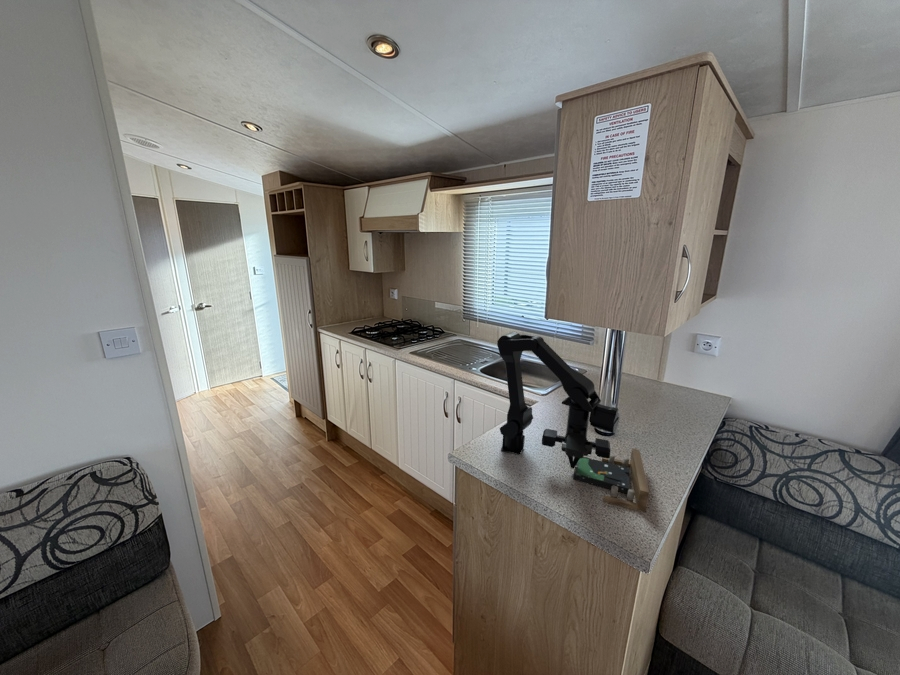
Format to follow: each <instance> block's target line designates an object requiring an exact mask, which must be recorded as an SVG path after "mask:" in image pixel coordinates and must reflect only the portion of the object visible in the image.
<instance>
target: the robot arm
mask: <svg viewBox="0 0 900 675" xmlns="http://www.w3.org/2000/svg"><path fill="white" fill-rule="evenodd" d="M496 343H497V345H496V346H497V350H498V352H499V355H500V358H502V360H503V362H504V367H505V374H506V381H507V383H506V384H507V392H508V398H509V407H508V411H507V414H506V423H505V424H503V425H502V426H500V427H499V431H500V435H502V444H501V448H500V451H502V452H506V453H509V454H510V453H512V454H516V455H521V453H522V451H523V450H524V448H525V439H526V438H525V435H524V430H525V429H526V428H528V427H529V426H530V425H531V424H532V421H533V419H534V415H533V407H531V406H529V407H528V405H527V404H526V401H525V393H524V384H523V375H522V374H523V373H522V366H521V359H522V355H523V352H525V351H527V352H532V353H533V354H534V355H535V356H536V357H537V359H539V361H541V362H542V363H543V364H544V365H545V366H546V367H547V368H548V370H550V371H551V373H552V374H553V375H555V378H557V379H558V380H559V381H560V383H561V386H562V389H563V390H564V392H565V393H566V395H567V396H568V397H566V398H565V399H563V400H562V401H561V404H562V405H565V406H567V407H568V413H567V422H566V431H565V436H562V435H558V430H555V429H550V428H545V429H544V430H543V432H542V437H541V445H542V446H546V447H551V448H554V447H555V446H556V443H560V444H561V450H560V451H562V452H564V453H565V455H566V456H567V458H568V462H569V466H570V469H574V470H575V466H576V464H577V462H578V461H579V459H580V458H583V457H587V456H588V455H592V452H593V450H594V455H595V456H596V457H599V458H602V457H603V458H607V459H608V458H610V454H611V450H612V449H611V442H610V441H609V440H607V439H603V438H597V437H595V440H594V441H589V440H588V438H587V437H588V427H589V424H590V426H592V427H593V428H597V429H599V430H601V431H605V432H609V433H612V434H615V433H616V432H617V430H618V428H619V427H618V426H619V423H620V416H619V415H620V414H619V408H618V407H614V406H608V405H604V404H601V402H602V400H601V398H600V397H599V394H598V393H597V392H596V389H595V384H594V382H593V381H592V380H591V379H590V378H588V377H587V376H586V375H585V374H583V373H582V372H579V371H576V370H575V369H573V368H572V367H571V366H570V365H568V364H567V362H566V361H564V359H563V358H562V357H560V355H558V353H556V351H554V349H553V348H552V347H551V346H550V345H549V344H548V343H547V342H546V341H545V339H544V338H543V337H542V336H539V335H531V334H520V333H519V332H516V331H512V332H509V333H507V334H503V335H501V336H500V337H499V338H498V339H497V342H496ZM589 399H590V400H589Z"/></svg>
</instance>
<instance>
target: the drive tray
mask: <svg viewBox="0 0 900 675" xmlns="http://www.w3.org/2000/svg"><path fill="white" fill-rule="evenodd" d="M630 453H631V454H630V458H629V457H626V456H624V457H623V458H622V459H617V458H615V457H616V456H615V455H614V454H613V453H612V454H611V453H610V458H608V459H607V458H603V457H601V461H602V462H606V463H610V464H614V465H618V466H622V467H626V468H629V469H630V478H631V482H632V489H630V488H629V490H628V494H627V495H626V499H622V498H618V487H617V486H614V485H613V486H612V488H611V490H610V496H609V495H605V494H603V498H602V499H603V502H604V503H607V504H611V505H614V506H619V507H624V508H627V509H630V510H635V511H639V512H643V513H646V511H647V507H648V501H649V495H650V491H649V490H650V489H649V486H648V481H647V477H646V471H645V468H644V463H643V459H642V455H641V450H640V449H637V448H632V449H631V452H630ZM634 500H635V501H634Z"/></svg>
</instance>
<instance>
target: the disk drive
mask: <svg viewBox="0 0 900 675" xmlns="http://www.w3.org/2000/svg"><path fill="white" fill-rule="evenodd" d="M572 475H573V476H572V480H573V481H577V482H580V483H583V482H584V483H583V484H587V483H588V485H592V486H595V487H597V488H602V489H604V490H605V489H606V490H608V491H611V488H612V486H613V485H614V486H617V487H618V493H619V494H622V495H626V496H627V494H628V490H629V489H630V480H631V479H630V478H631V471H630V467H628V468H626V467H622V466H620V465H615V464H610V463H606V462H602V460H598V459H593V458H590V457H587V456H583V458H580V459H579V461H578V462H577V464H576V466H575V467H574V470H573V474H572ZM618 493H617V494H618Z"/></svg>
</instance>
